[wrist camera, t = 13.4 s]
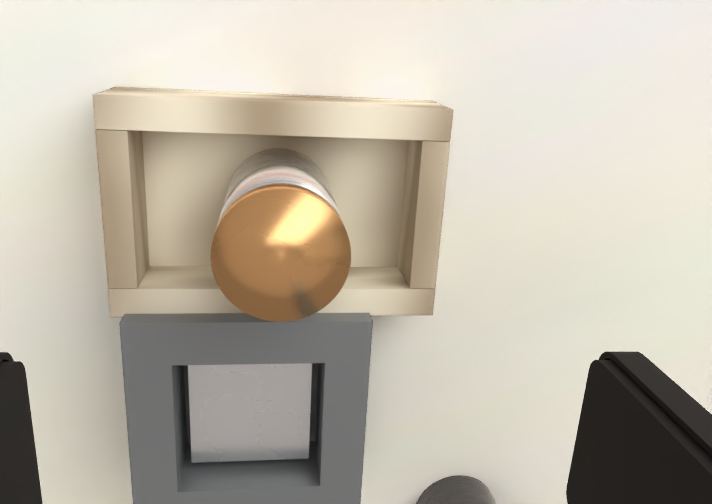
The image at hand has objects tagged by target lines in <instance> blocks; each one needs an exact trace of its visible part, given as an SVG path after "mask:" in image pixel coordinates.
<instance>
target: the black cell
mask: <svg viewBox="0 0 712 504" xmlns="http://www.w3.org/2000/svg"><path fill="white" fill-rule="evenodd" d="M417 504H495V502H494V500H493V498H492V496H491V493H490V491H489V490H488V488H487V487H486V486H485V485H484V484H483V483H482V482H481V481H479V480H477V479H475V478H472V477H468V476H451V477H447V478H444V479H441V480H439V481H437V482H435V483H433V484H432V485H431V486H429V487H428V488H427V489H426V490H425V491H424V492H423V493H422V495H421V496H420V498H419V500H418V502H417Z"/></svg>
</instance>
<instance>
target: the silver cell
mask: <svg viewBox="0 0 712 504" xmlns="http://www.w3.org/2000/svg"><path fill="white" fill-rule="evenodd" d="M210 258H211V267H212V271H213V275H214V278H215V280H216V283H217V285H218V286H219V288H220V290H221V291H222V293H223V294H224V295H225V297H226V298H227V299H228V300H229V301H230V302H231V303H232V304H233V305H235V306H236V307H237V308H238V309H240V310H241V311H243V312H245V313H247V314H249V315H251V316H253V317H256V318H259V319H263V320H268V321H277V322H284V321H293V320H299V319H302V318H305V317H308V316H310V315H312V314H314V313H316V312H318V311H320V310H321V309H323V308H324V307H325V306H327V305H328V304H329V303H330V302H331V301H332V300H333V299H334V298H335V297H336V296H337V294H338V293H339V292H340V290H341V289H342V287H343V285H344V284H345V281H346V279H347V276H348V273H349V270H350V264H351V246H350V241H349V237H348V234H347V231H346V229H345V226H344V223H343V221H342V218H341V216H340V213H339V210H338V208H337V205H336V203H335V200H334V197H333V195H332V192H331V189H330V187H329V184H328V182H327V179H326V177H325V175H324V173H323V172H322V170H321V169H320V168H319V166H318V165H317V164H316V163H315V162H314V161H313V160H312V159H310V158H309V157H307V156H306V155H304V154H302V153H300V152H297V151H295V150H291V149H286V148H271V149H266V150H263V151H259V152H257V153H255V154H253V155H252V156H250V157H248V158H247V159H246V160H245V161H243V162H242V163H241V165H240V166H239V167H238V168H237V169H236V171H235V172H234V174H233V176H232V178H231V181H230V184H229V187H228V190H227V194H226V197H225V200H224V204H223V207H222V210H221V214H220V217H219V220H218V224H217V227H216V230H215V233H214V237H213V240H212V245H211V256H210Z"/></svg>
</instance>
